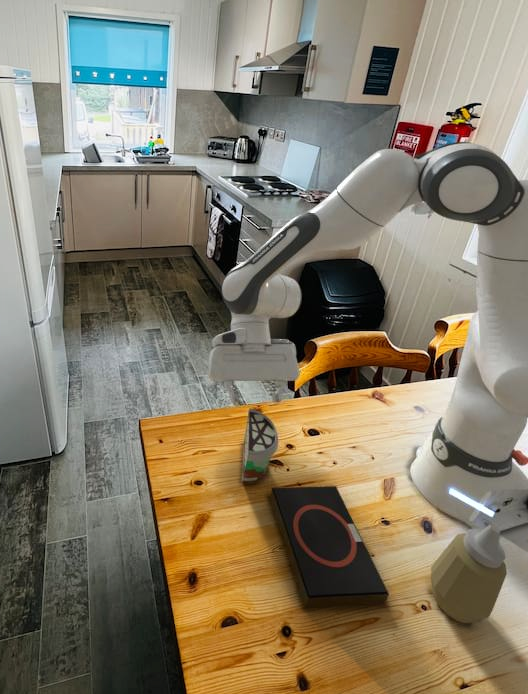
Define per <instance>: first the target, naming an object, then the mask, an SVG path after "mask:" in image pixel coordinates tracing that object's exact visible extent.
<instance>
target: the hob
mask: <svg viewBox="0 0 528 694" xmlns="http://www.w3.org/2000/svg"><path fill="white" fill-rule="evenodd" d="M269 500H270V503H271V507H272V509H273V512H274V516H275V519H276V523H277V526H278V528H279V531H280V532H279V533H280V535H281V538H282V542H283V544H284V548H285V551H286V554H287V557H288V559H289V560H288V561H289V563H290V566H291V569H292V574H293V576H294V579H295V582H296V585H297V590H298V593H299V596H300V598H301V602H302V605H303V608H304V609H321V608H340V607H343V608H344V607H361V606H383V605H385V604H386V602H387V599H388V597H389V595H390V593H389V591H388V589H387V587H386V585H385V583H384V581H383V579H382V577H381V575H380V572H379V570H378V568H377V567H376V565H375V562H374V560H373V559H372V557H371V554H370V552H369V550H368V548H367V547H366V544H365V542H364V540H363V538H362V536H361V533H360V532H359V530H358V528H357V526H356V524H355V522H354V520H353V518H352V516H351V513H350V511H349V509H348V508H347V506H346V504H345V501H344V499H343V497H342V495H341V493H340V492H339V489H338V487H337V486H335V485H331V486H330V485H329V486H290V487H288V486H287V487H286V486H285V487H271V490H270V494H269Z"/></svg>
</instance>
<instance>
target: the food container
mask: <svg viewBox="0 0 528 694" xmlns="http://www.w3.org/2000/svg"><path fill="white" fill-rule="evenodd" d="M278 435H279V434H278V431H277V428H276V426H275V424H274V422H273V421H272V419H270V418H269V417H268V416H267V415H266V414H264V413H263V412H260V411H259V410H256V409H253V408H250V407H249V408H248V412H247V420H246V425H245V433H244V439H243V445H242V447H243V448H242V470H241V471H242V472H241V473H242V475H241V483H242V484H255V483H257V482H260V481H261V480H262V479H263V478H264V477H265V476H266V473H267V470H268V467H269V463H270V460H271V458H272V457H273V456H274V455H275V453H276V452H277V450H278V447H279V436H278Z"/></svg>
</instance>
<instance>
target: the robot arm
mask: <svg viewBox="0 0 528 694" xmlns="http://www.w3.org/2000/svg"><path fill="white" fill-rule="evenodd" d="M424 203H425V204H426V205H427V206H428V208H429V209H431V211H433V212H434V213H435V214H437V215H439V216H441V217H443V218H445V219H448V220H452V221H456V222H463V223H470V224H473V225H477V230H478V231H477V232H478V237H477V238H478V239H477V251H476V253H477V256H476V279H475V297H476V304H477V311H475V312H474V314H472V316H471V318H470V320H469V323H468V329H467V335H466V339H465V342H464V347H463V350H462V354H461V358H460V362H459V365H458V370H457V376H456V379H455V385H454V388H453V392H452V394H451V396H450V399H449V401H448V404H447V405H446V408H445V411H444V413H443V415H442V417H440V418H439V419H438V420H437V422H436V424H435V425H434V429H433V430H432V432H430V435H429V436H428V437H427V439H426V441H425V443H423V446H419V447H418V448H417V449H416V453H415V454H416V457H415V459H414V461H412V463H411V465H410V468H409V469H410V470H409V471H410V476H411V479H412V482H413V484H414V485H415V487H416V489H417V490H418V492H420V494H421V495H422V496H423V497H424V498H425V499H426V500H427V501H428V502H429V503H430V504H431V505H433V506H434V507H435V508H437V509H438V510H440V511H441V512H443V513H445V514H447V515H448V516H450V517H453V518H454V519H457V520H459V521H461V522H462V523H464V524H466V525H467V526H469V527H470V528H471V529H474V528H475V529H479V530H482V531H483V530H484V529H485V528H487V527H488V526H489V525H491V524H494V525H496V526H498V527H499V528H500V532H502V531H505V530H508V529H512V528H515V527H519V526H521V525H525V524H528V476H527V475H526V474H525V473H524V471H522V469H521V468H520V467H519V466H521V467H523V466H526V465H527V464H528V457H527V456H526V455H525V454H523V452H522V451H521V450H519V449H517V450H516V449H515V447H516V445H517V444H518V442H519V440H520V438H521V436H522V434H523V433H524V431H525V428H526V427H527V424H528V179H518V178H517V176H516V175H515V174H514V172H513V170H512V169H511V168H510V166H509V165H508V164H507V163H506V161H505V160H503V159H502V157H500V156H499V155H498V154H497V153H496V152H494V151H493V150H492V149H490V148H488V146H487V147H486V146H484V145H481V144H478V143H473V142H469V141H457V142H449V143H447V144H443V145H440V146H438V147H434V148H433V149H431V150H428V151H425V152H423V153H419V154H417V155H415V156H414V157H413V156H412V155H410V154H408V153H407V152H404V151H403V150H399V149H395V148H383V149H380V150H377V151H376V152H374V153H373V154H371V155H370V156H369V157H368V158H366V159H365V160H364V161H363V162H362V163H360V164H359V165H358V166H357V167H356V168H355V169H354V170H353V171H352V172H350V173H349V174H348V175H347V176H346V177H345V179H343V180H342V181H341V182H340V184H338V186H337V187H336V188H335V189H334V190H333V191H332V192H331V193H330V194H329V195H328V196H327V197H325V199H323V200H322V201H321V202H319V204H317V205H315V206H314V207H312V208H311V209H309V210H307V211H306V212H304V213H301V214H299V215H297V216H296V217H294V218H293V219H291V220H290V221H289V222H287V223H286V224H285V225H284V226H282V227H281V228H280V229H279V230H277V232H276V233H275V234H274V235H273V236H271V238H269V239H268V240H267V241H266V242H265V243H264V244H263V245H262V246H260V247H259V248H258V249H257V250H256V251H255V252H254V253H253V254H252V255H251V256H250V257H248V259H246V260H244V261H243V262H242V263H239V264H238V265H236V266H234V267H233V268H231V269H230V271H228V273H227V274H226V275H225V276H224V278H223V280H222V283H221V286H220V293H221V297H222V301H223V302H224V304H225V306H226V307H227V308H228V310H229V312H230V315H231V322H230V330H229V331H225V332H222V333H219V334H217V335H216V336H214V337H213V338H212V340H211V346H212V348H213V349H211V350H210V352H209V355H208V364H207V376H208V378H209V379H210V380H211V381H212V382H224V388H225V389H226V391H227V392H228V394H229V401H230V403H231V404H235V403H236V404H238V403H240V398H239V397H240V396H239V395H240V394H239V393H235V391H234V389H233V388H232V386H233V385H234V382H259V381H260V382H274V383H275V386H276V387H277V389H276V391H275V393H272V394H271V398H272V399H271V400H272V403H274V404H275V403H276V404H277V403H278V404H279V403H282V401H283V400H282V393H283V391H284V389H285V386H286V382H287V381H288V382H293V381H298V379H299V378H300V375H301V374H300V366H299V363H298V359H297V348H296V347H297V346H296V344H294V342H293V341H290V340H289V339H288V338H281V339H280V338H271V329H270V322H269V320H270V319H273V318H275V319H287V318H290V317H293V316H294V315H295V314H296V313H297V312H298V310H299V309H300V307H301V305H302V301H303V300H302V297H303V294H302V289H301V286H300V284H299V283H298V282H297V280H296V279H294V278H292V277H290V276H287V275H283V274H280V273H281V272H282V271H283V270H284V269H285V268H287V267H288V266H289V265H290V264H291V263H292V262H294V261H295V260H296V259H298V258H300V257H303V256H305V255H309V254H314V253H318V252H330V251H331V252H334V251H351V250H355V249H357V248H360V247H362V246H364V245H365V244H366V243H368V242H369V241H371V240H372V239H373V238H375V237H376V236H377V235H378V234H379V233H380V232H381V231H382V230H384V229H385V228H386V226H388V225H389V223H391V222H392V221H393V220H394V218H395V217H396V216H397V215H399V213H401V212H402V211H404V210H406V209H408V208H409V207H411V206H414V205H416V204H424ZM513 460H514V461H515V462H514V461H513ZM516 463H517V464H516Z"/></svg>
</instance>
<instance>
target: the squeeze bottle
mask: <svg viewBox="0 0 528 694" xmlns="http://www.w3.org/2000/svg"><path fill="white" fill-rule="evenodd" d="M500 538H501V531H500V528H499V527H498V526H496V525H494V524H491V525H489V526H488V527H487V528H485V529H484V530H483V531H482V530H479V529H475V528H474V529H473V528H469V529H468V530H467V532H462V533H457V534H456V535H455V537H454V538H453V539H452V540H451V542H449V544H448V545H447V547H446V548H445V549H444V550H443V552H442V553H441V554H440V555H439V557H438V558H437V559H436V560H435V561H434V563H433V564H432V565H431V567H430V580H431V581H430V582H431V592H432V595H433V598H434V601H435V602H436V603H437V605H438V606H439V609H441V610H442V611H443V612H444V613H445V614H446V615H447V616H448V617H450V618H451V619H453V620H455V621H457V622H459V623H462V624H470V623H474V622H478V621H481V620H484V619H488V618H489V617H490V616H491V614H492V613H493V610H494V608H495V605H496V603H497V600H498V598H499V596H500V592H501V590H502V588H503V584H504V583H505V580H506V577H507V573H508V572H507V565H506V564H505V562H504V561H505V559H506V558H507V557H506V551H505V549H504V547H503V546H502V544H501V543H500Z"/></svg>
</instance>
